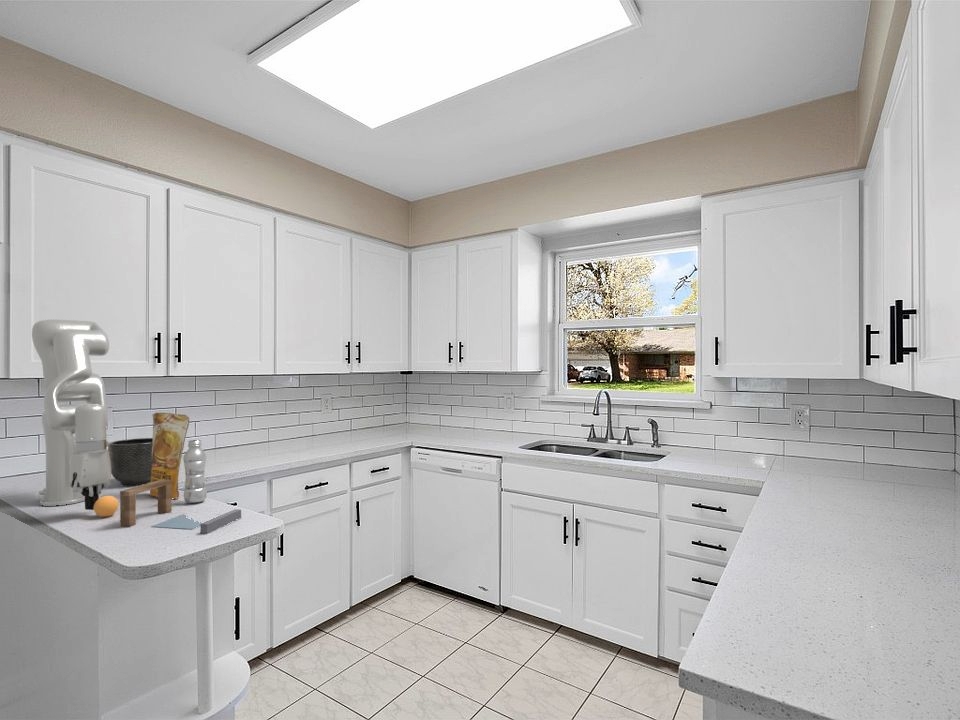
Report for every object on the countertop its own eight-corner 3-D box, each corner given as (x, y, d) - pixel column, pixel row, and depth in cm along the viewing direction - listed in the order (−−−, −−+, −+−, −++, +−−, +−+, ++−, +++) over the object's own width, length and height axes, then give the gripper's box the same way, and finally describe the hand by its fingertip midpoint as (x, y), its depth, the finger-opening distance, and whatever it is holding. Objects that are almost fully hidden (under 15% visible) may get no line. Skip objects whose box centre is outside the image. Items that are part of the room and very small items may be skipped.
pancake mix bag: (163, 490, 187) (162, 411, 187) (192, 497, 177) (191, 414, 177) (142, 494, 182) (141, 413, 182) (171, 502, 171) (170, 415, 171)
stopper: (200, 533, 139) (200, 523, 139) (235, 517, 153) (235, 509, 153) (207, 533, 139) (207, 524, 139) (241, 518, 152) (241, 509, 152)
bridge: (120, 526, 146) (120, 491, 146) (163, 511, 160) (162, 479, 160) (129, 526, 145) (129, 491, 145) (171, 511, 160) (171, 479, 160)
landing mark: (151, 527, 145) (151, 526, 145) (186, 513, 158) (186, 512, 158) (192, 529, 142) (192, 528, 142) (224, 515, 155) (224, 515, 155)
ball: (85, 513, 153) (92, 494, 153) (104, 507, 159) (111, 489, 159) (101, 523, 152) (108, 504, 152) (119, 517, 158) (126, 499, 158)
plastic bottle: (211, 500, 172) (211, 439, 172) (194, 506, 166) (193, 442, 166) (196, 499, 174) (195, 438, 174) (178, 504, 168) (178, 441, 168)
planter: (137, 490, 188) (137, 445, 188) (96, 488, 191) (95, 444, 191) (173, 479, 205) (173, 438, 205) (135, 478, 208) (134, 437, 208)
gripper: (103, 443, 164) (104, 502, 164) (55, 450, 150) (56, 515, 149) (123, 443, 163) (124, 503, 162) (77, 450, 148) (77, 516, 148)
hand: (92, 508), depth 156 cm, fingers closed
